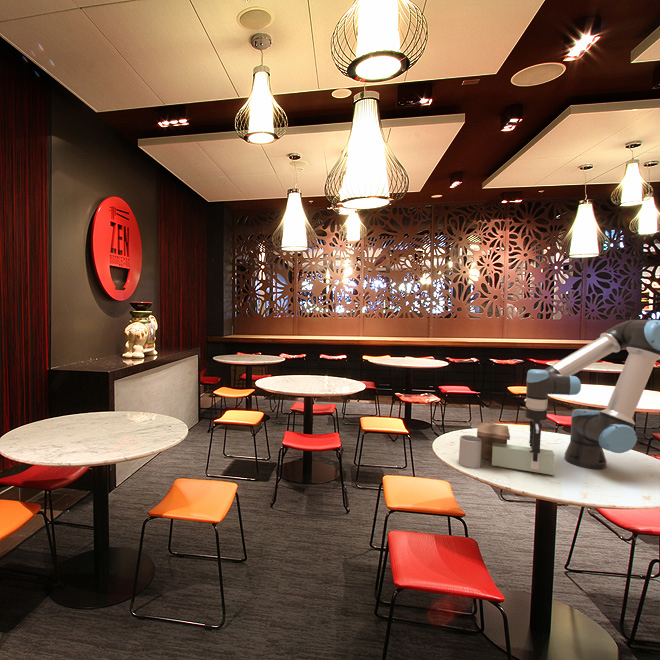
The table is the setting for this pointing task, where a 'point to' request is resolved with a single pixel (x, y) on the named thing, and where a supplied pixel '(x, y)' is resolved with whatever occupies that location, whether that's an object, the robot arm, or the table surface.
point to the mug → (470, 451)
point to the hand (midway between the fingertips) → (533, 466)
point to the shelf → (491, 437)
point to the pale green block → (521, 458)
